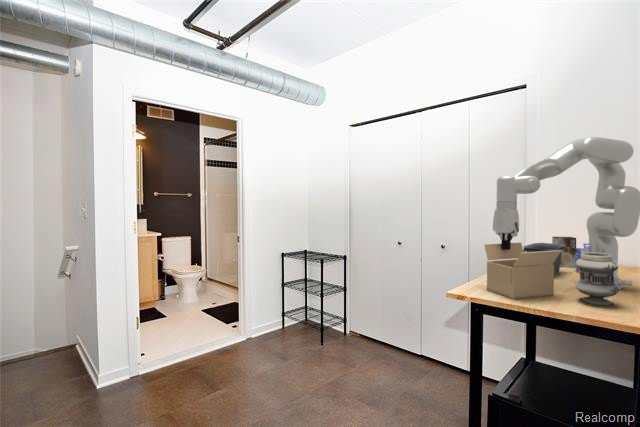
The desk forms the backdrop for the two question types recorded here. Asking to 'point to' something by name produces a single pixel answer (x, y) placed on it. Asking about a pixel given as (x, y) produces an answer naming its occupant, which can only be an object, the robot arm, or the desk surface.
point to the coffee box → (567, 250)
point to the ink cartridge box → (579, 253)
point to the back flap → (503, 251)
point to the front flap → (537, 258)
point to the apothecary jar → (597, 278)
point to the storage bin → (546, 247)
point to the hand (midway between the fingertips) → (505, 249)
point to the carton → (520, 279)
